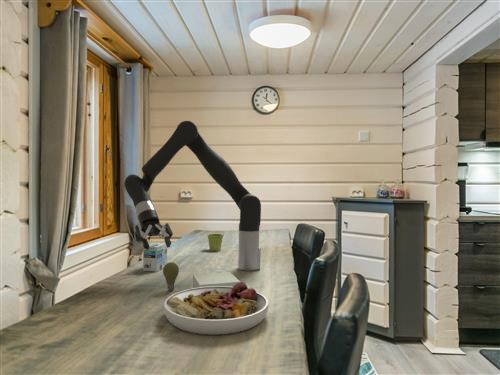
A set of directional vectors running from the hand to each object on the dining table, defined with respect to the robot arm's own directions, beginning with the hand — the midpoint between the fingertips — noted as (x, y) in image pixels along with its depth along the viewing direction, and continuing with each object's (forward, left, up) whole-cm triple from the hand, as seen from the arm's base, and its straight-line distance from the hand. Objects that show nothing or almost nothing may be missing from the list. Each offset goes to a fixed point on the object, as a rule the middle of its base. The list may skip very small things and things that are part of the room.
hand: (158, 247), depth 140 cm
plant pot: (-36, -59, -14) cm, 70 cm away
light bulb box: (-1, -24, -14) cm, 28 cm away
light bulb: (-4, +10, -14) cm, 17 cm away
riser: (-19, +16, -14) cm, 28 cm away
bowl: (-14, +39, -14) cm, 44 cm away
